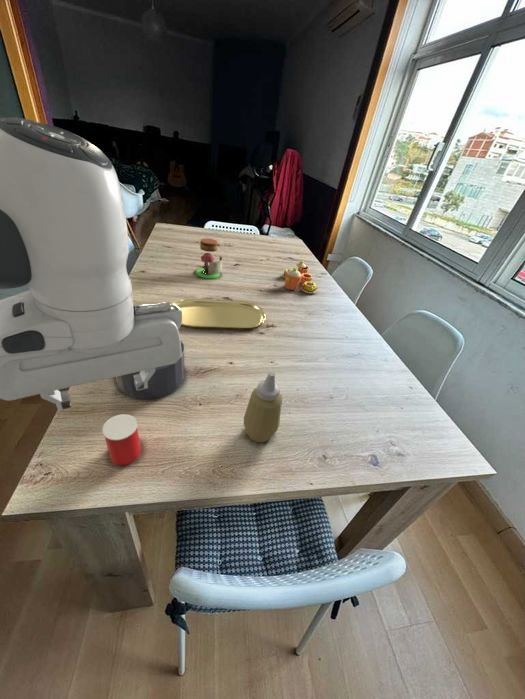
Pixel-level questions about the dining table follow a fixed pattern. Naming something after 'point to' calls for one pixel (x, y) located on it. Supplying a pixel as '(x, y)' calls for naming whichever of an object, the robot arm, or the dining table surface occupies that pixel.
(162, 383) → the pot
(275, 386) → the squeeze bottle
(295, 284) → the toy tea set
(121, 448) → the disc
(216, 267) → the mushroom terrarium jar
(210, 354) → the dining table surface
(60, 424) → the dining table surface
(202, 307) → the serving platter
